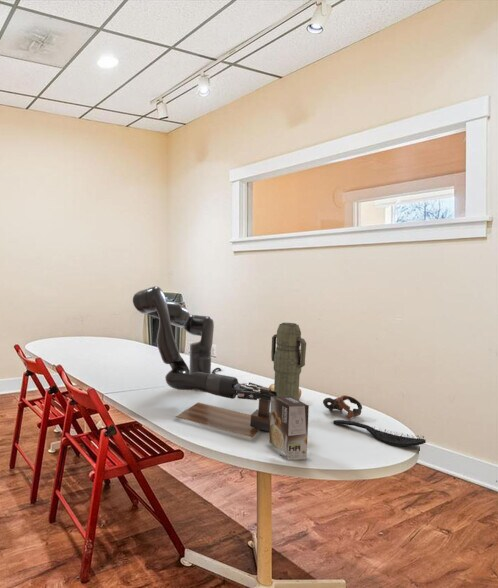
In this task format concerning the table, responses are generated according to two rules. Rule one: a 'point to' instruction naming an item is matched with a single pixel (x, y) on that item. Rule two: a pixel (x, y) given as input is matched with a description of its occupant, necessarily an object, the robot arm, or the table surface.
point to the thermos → (288, 359)
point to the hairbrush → (386, 435)
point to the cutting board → (220, 418)
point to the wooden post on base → (262, 413)
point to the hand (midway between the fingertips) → (274, 396)
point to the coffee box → (289, 426)
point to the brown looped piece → (343, 405)
